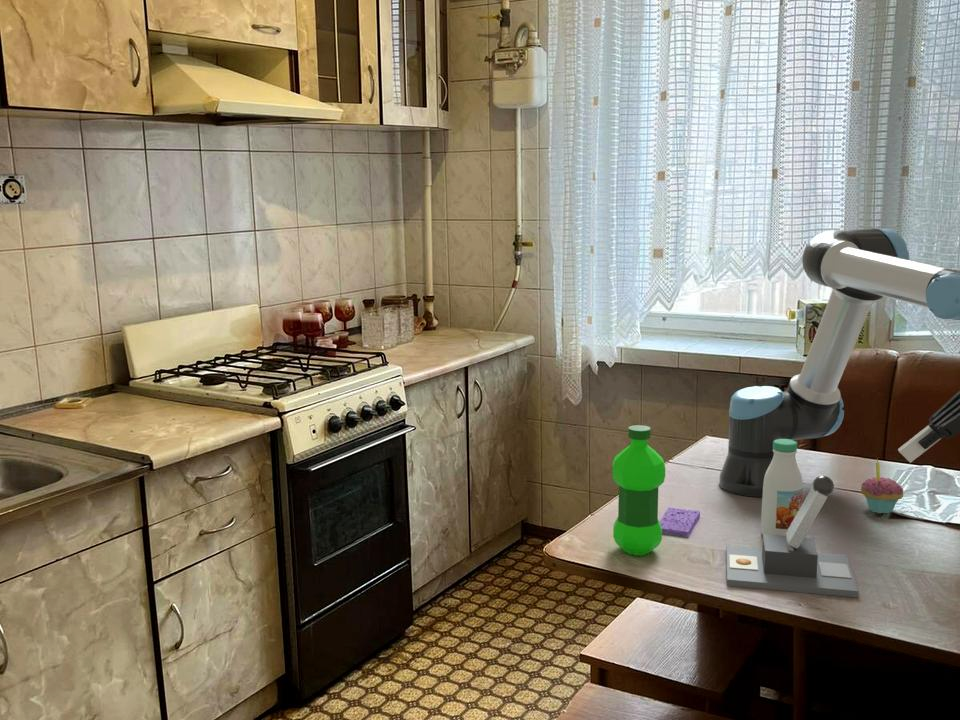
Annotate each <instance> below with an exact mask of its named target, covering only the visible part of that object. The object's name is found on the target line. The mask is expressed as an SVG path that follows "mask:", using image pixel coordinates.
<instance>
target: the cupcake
mask: <svg viewBox="0 0 960 720" xmlns="http://www.w3.org/2000/svg"><path fill="white" fill-rule="evenodd" d="M875 469H876V470H875V471H876V472H875V473H876V477H872V478H868V479H866V480H865V481H864V482H862V483H861V488H860V493H861V494H862V495H863V496H864V497H865V500H866V502H867V507H868V510H869V511H870V512H873V513H875V512H877V513H876V514H881V513H888V514H891V513H893V511H894V509H895V507H896V504H897V503H898V501H899V500H902V498H903V497H904V488H903V487H902V485H900V484H899V483H897V482H896V481H895V480H894V479H892V478H889V477H883V476H882V477H881V472H880V461H879V460H878V458H876V461H875ZM890 512H891V513H890Z"/></svg>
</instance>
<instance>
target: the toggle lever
mask: <svg viewBox="0 0 960 720" xmlns="http://www.w3.org/2000/svg"><path fill="white" fill-rule="evenodd" d="M834 483H835V482H834V481H833V479H832V478H831V477H829V476H827V475H820V476H817V477H815V478H814V480H813V482H812V487H811V489H810V490H809V492H808V494H807V495H806V497H805V499H804V501H802V506H801V507H800V509H799V511H798V513H797V514H796V516H795V518H794V520H793V521H792V523H791V525H790V527H789V528H788V530H787V532H786V535H787V541H788V545H790V546H793V547H795V548H797V549H798V547H799V546H800V544H801V542H802V540H803V539H804V537H805V538H806V535H807V534H808V532H809V530H810V528H811V526H812V525H813V523H814V521H815V520H816V518H817V516H818V514H819V512H820V511H821V509H822V507H823V506H824V504H825V503H826V500H827V499H828V497H829V495H830V494H832V493H833V491H834V489H835V484H834Z"/></svg>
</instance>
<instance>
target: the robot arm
mask: <svg viewBox="0 0 960 720" xmlns="http://www.w3.org/2000/svg"><path fill="white" fill-rule="evenodd" d="M801 259H802V267H803V270H804V272H805V275H806V276H807V277H808V278H809V279H810V280H811V281H812V282H813V283H816V284H818V285H820V286H825V287H828V288H831V289H832V291H831V293H830V295H829V299H828V301H827V304H826V306H825V309H824V312H823V315H822V317H821V320H820V322H819V323H818V326H817V330H816V332H815V335H814V337H813V340H812V343H811V345H810V348H809V351H808V353H807V356H806V359H804V360H805V361H804V364H803V366H802V369H801V371H800V373H799V374H795V375H794V376H792V377H791V378H790V380H789V383H788V386H787V389H786V390H785V391H782V389H780V388H779V387H776V386H770V385H762V386H759V385H754V386H748V387H744V388H741V389H739V390H737V391H735V392H734V393H733V394H732V396H731V398H730V404H729V409H728V413H729V423H728V424H729V426H728V427H729V428H728V452H727V455H726V458H725V460H724V463H723V465H722V468H721V471H720V474H719V482H718V483H719V487H721V488H722V489H723V490H724V491H727V492H730V493H731V494H736V495H741V496H745V497H747V496H748V497H755V498H756V497H757V498H761V497H763V483H764V477H765V473H766V471H767V469H768V467H769V465H770V464H771V461H772V459H773V456H774V452H773V442H774V440H777V439H789V440H793V441H799V440H808V439H820V438H822V437H826V436H830V435H832V434H834V433H835V432H836V431H838V429H839V428H840V427H841V424H842V422H843V420H844V416H845V415H844V414H845V410H843V408H844V405H845V404H844V400H843V398H842V395H841V390H840V389H839V383H840V381H841V378H842V376H843V374H844V371H845V369H846V367H847V364H848V362H849V359H850V358H851V355H852V353H853V350H854V348H855V345H856V343H857V340H858V338H859V336H860V333H861V331H862V329H863V326H864V324H865V321H866V320H867V317H868V314H869V313H870V309H871V307H872V305H873V303H875V302H878V301H880V300H882V299H883V298H884V297H885V298H889V299H892V300H895V301H899V302H903V303H906V304H910V305H913V306H914V305H915V306H917V307H921V308H926V309H929V311H930V312H931V313H932V314H933V316H934V317H936V318H938V319H942V320H953V321H954V320H955V321H960V270H957V269H952V268H947V267H943V266H939V265H935V264H931V263H930V264H929V263H926V262H921V261H917V260H916V261H915V260H910V253H909V250H908V246H907V243H906V242H905V240H904V238H903V237H902V236H901V235H900V234H899V233H898V232H896V231H895V230H893V229H889V228H878V227H871V228H861V229H857V228H856V229H832V230H828V231H823V232H821V233H819V234H817V235H815V236H813V238H812V239H811V240H810V241H809V242H808V243H807V245H806V246H805V248H804V250H803V253H802V258H801ZM928 420H929V423H928V424H927V426H925V427H924V428H923V429H921V430H920V431H919V432H918V433H917V434H915V435H914V436H913V437H912V438H910V439H909V440H908V441H906V442H905V443H904V444H903V445H901V446H900V447H899V448H898V449H897V450H898V452H899V453H900V455H902V456H903V457H904V458H905V460H907V461H908V462H909V464H911V463H912V462H913V461H915V460H916V459H917V458H919V457H920V456H921V455H923V454H924V453H925V452H927V451H928V450H929V449H930V448H931V447H933V446H934V445H935V444H937V443H938V442H939V441H940V440H944V439H947V440H951V439H953V437H955V436H957V435H958V434H960V389H959V390H958V391H957V392H956V393H955V394H954V395H952V397H950V399H948V400H947V402H946V403H944V404H943V405H942V406H941V407H940V408H939V409H938V410H937V411H935V412H934V413H933V414H932V415H931V416H930V417H929V418H928Z"/></svg>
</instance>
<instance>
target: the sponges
mask: <svg viewBox="0 0 960 720" xmlns="http://www.w3.org/2000/svg"><path fill="white" fill-rule="evenodd" d="M700 517H701V511H700V510H698V509H697V510H696V509H695V510H694V509H688V510H687V509H686V508H685V509H684V508H676V507H670V506H669V507H667V509H666V511H665V512H664V514H663V515H662V516H661V518H660V519H659V522H660V525H661V527H662V533H665V534H664V535H669V534H671V536H677V535H678V536H679V537H686V538H689V537H690V535H691V533H692V532H693V530H692V529H694V527H695V526H696V525H697V523H698V521H699V520H700V519H701V518H700Z"/></svg>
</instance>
